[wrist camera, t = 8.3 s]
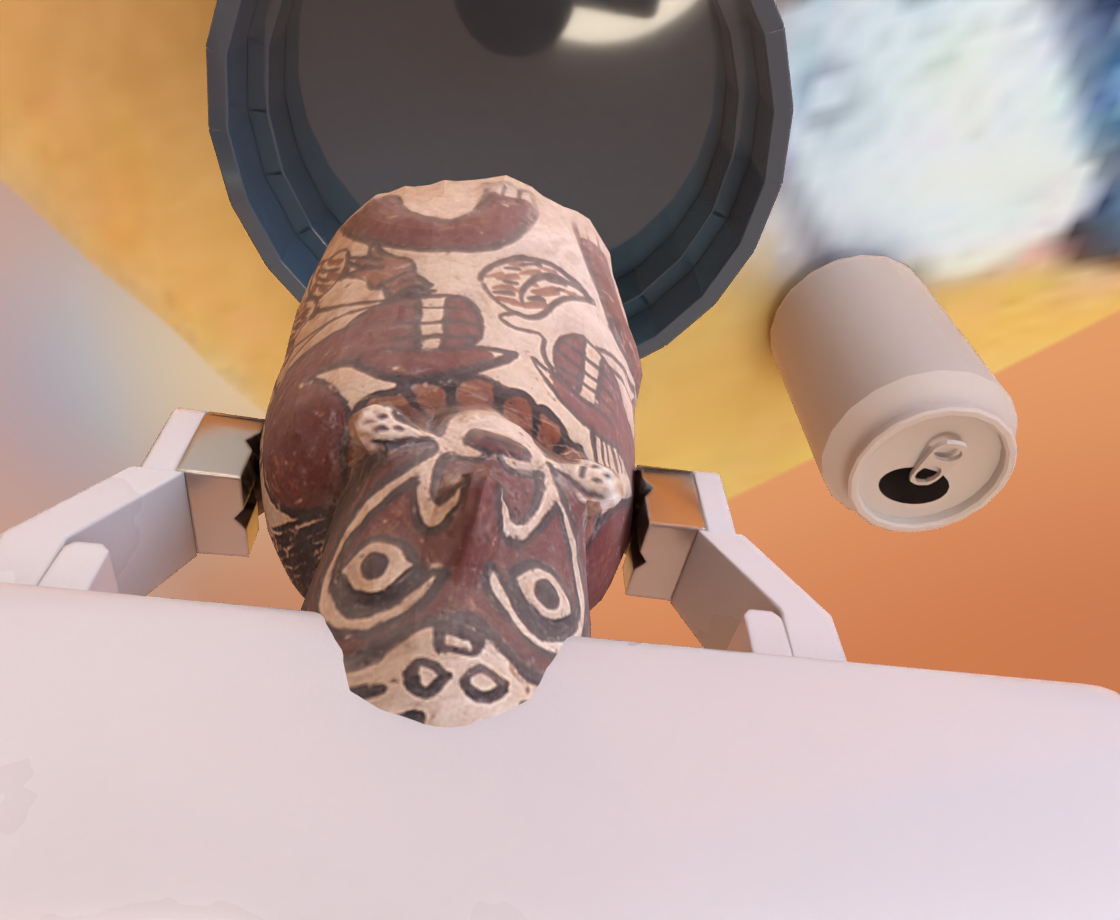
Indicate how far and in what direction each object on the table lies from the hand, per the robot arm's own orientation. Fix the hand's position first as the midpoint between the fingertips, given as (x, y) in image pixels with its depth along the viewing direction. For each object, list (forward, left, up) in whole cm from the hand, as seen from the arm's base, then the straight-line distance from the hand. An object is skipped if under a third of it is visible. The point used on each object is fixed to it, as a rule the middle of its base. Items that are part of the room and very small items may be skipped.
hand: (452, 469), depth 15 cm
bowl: (+1, 0, -24) cm, 24 cm away
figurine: (0, 0, -5) cm, 5 cm away
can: (+15, +12, -24) cm, 31 cm away
